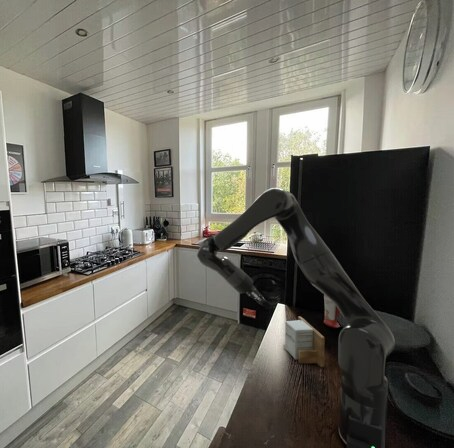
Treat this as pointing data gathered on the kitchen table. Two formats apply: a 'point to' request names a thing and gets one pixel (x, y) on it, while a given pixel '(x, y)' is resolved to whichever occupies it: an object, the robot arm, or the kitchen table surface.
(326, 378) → the kitchen table surface
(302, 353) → the wooden stand
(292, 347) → the white packaging box
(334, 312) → the liquor
